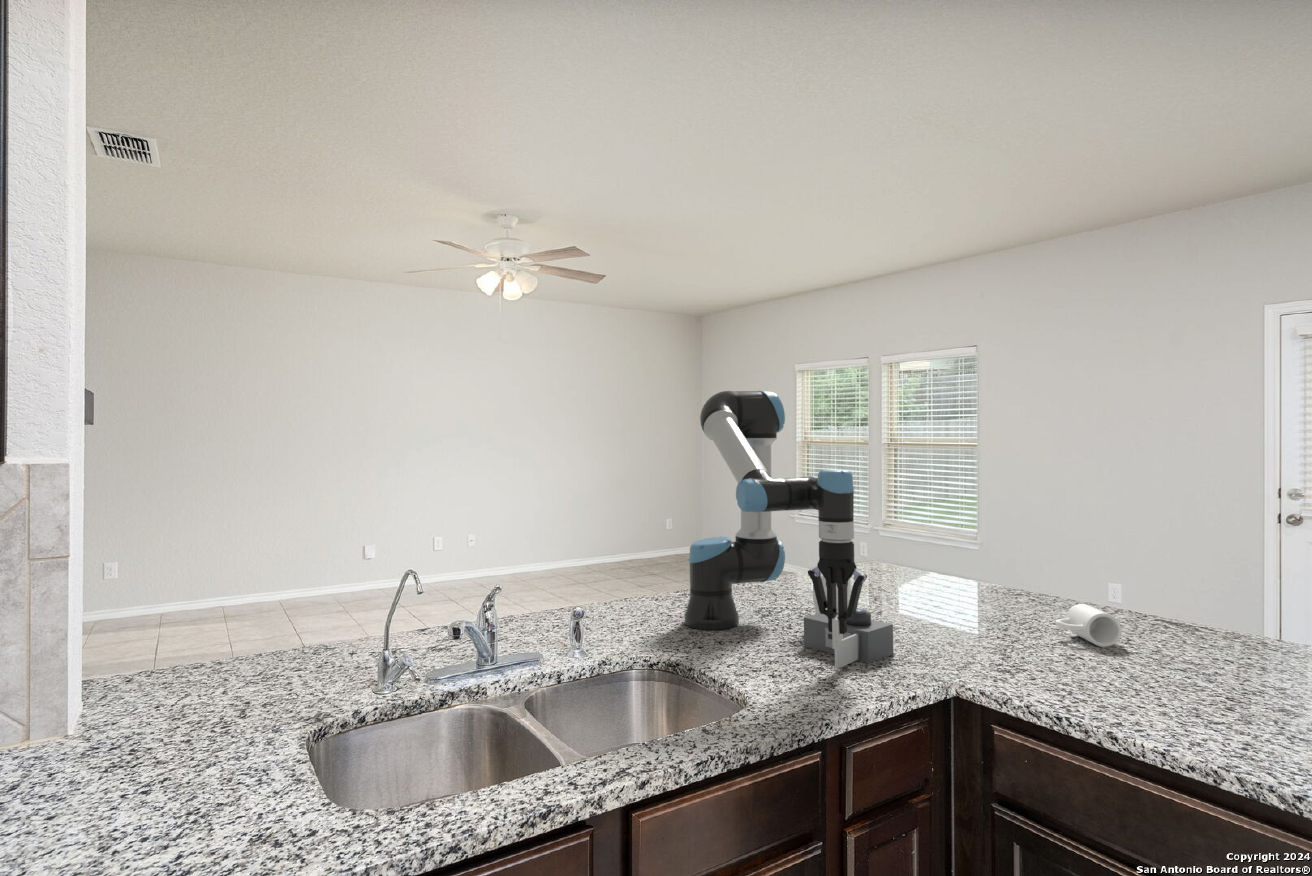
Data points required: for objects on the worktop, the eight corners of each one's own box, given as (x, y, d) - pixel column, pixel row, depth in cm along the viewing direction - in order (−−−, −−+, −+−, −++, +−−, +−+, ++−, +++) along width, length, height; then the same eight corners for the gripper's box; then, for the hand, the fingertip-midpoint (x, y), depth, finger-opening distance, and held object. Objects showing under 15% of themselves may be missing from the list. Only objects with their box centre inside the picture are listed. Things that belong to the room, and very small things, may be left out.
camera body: (803, 646, 164) (802, 605, 164) (829, 638, 170) (828, 598, 170) (868, 663, 150) (867, 618, 150) (893, 654, 156) (892, 611, 156)
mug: (1099, 635, 168) (1098, 603, 169) (1122, 647, 158) (1121, 613, 159) (1048, 635, 170) (1047, 603, 170) (1069, 646, 160) (1068, 613, 160)
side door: (838, 669, 145) (837, 642, 145) (834, 668, 145) (833, 642, 145) (860, 658, 151) (859, 633, 151) (856, 657, 152) (855, 633, 152)
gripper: (801, 540, 148) (803, 646, 148) (859, 544, 141) (861, 657, 141) (815, 536, 154) (816, 638, 154) (871, 540, 147) (872, 648, 147)
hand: (837, 647), depth 147 cm, fingers closed
